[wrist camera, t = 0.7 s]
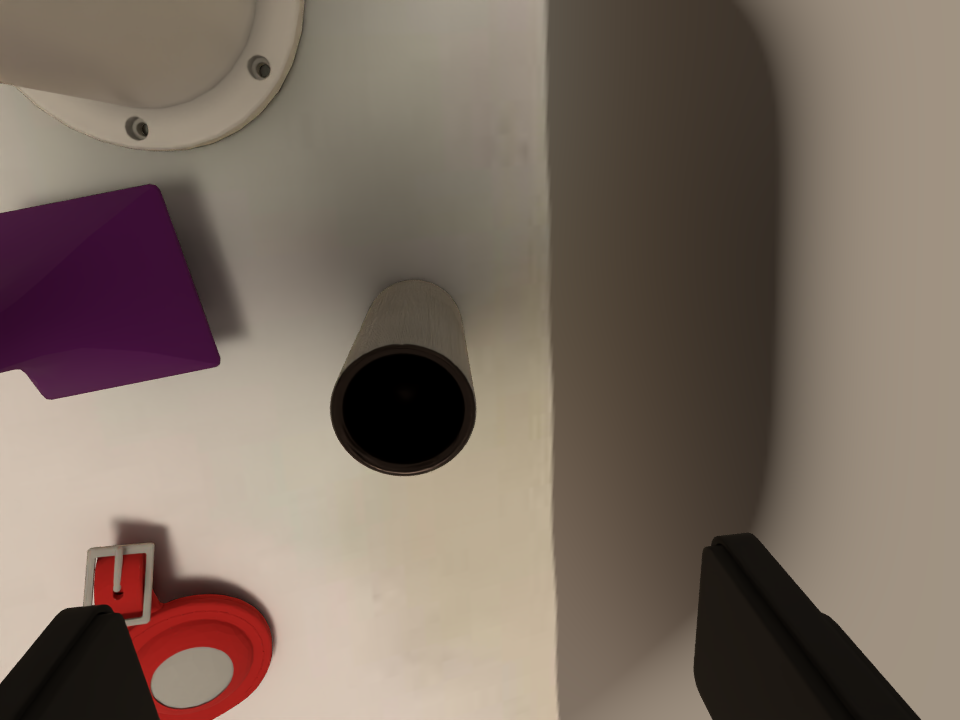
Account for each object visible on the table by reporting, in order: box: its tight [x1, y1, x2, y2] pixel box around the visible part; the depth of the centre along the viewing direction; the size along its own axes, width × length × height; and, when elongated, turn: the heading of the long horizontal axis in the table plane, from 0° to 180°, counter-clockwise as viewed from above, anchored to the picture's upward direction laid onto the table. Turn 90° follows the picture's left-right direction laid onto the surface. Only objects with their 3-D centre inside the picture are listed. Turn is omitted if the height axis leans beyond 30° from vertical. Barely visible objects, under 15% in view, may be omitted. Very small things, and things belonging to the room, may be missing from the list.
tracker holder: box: [83, 542, 272, 720], centre depth 30 cm, size 12×4×10 cm
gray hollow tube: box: [330, 280, 476, 476], centre depth 23 cm, size 4×4×10 cm
